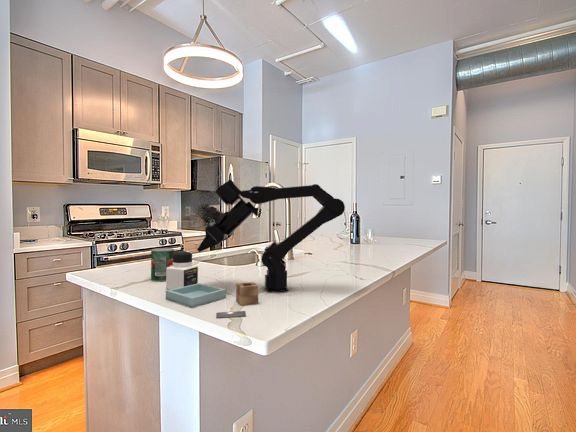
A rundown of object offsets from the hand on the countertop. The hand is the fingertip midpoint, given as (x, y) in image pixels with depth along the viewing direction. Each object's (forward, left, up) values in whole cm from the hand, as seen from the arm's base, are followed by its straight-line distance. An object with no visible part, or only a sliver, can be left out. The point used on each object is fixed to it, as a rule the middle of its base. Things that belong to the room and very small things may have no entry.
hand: (202, 248), depth 101 cm
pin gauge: (-8, +28, -13) cm, 32 cm away
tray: (+1, +12, -13) cm, 17 cm away
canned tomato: (+14, -15, -13) cm, 25 cm away
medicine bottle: (+6, -1, -13) cm, 15 cm away
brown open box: (-13, +18, -13) cm, 25 cm away
